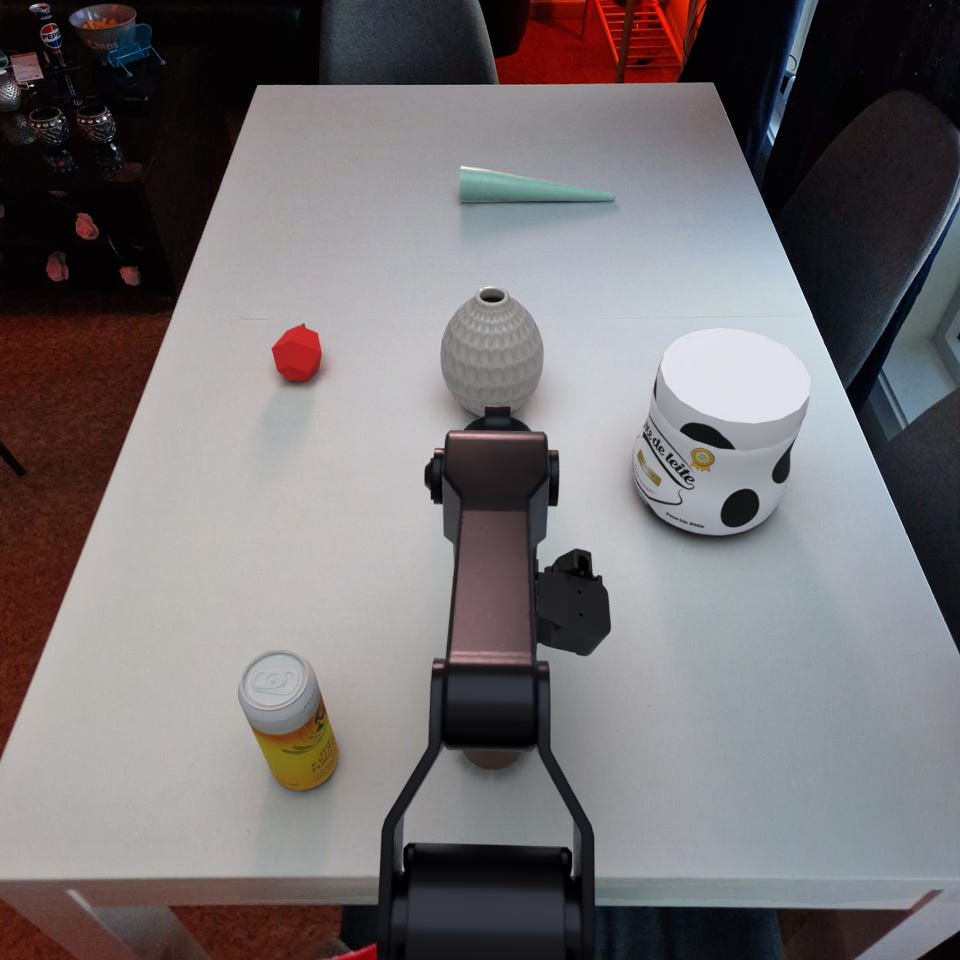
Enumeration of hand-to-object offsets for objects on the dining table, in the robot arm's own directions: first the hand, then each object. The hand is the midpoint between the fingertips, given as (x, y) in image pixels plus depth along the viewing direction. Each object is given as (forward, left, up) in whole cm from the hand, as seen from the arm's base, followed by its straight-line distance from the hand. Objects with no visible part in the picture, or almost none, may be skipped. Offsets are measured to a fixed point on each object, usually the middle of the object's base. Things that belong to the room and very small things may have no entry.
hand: (493, 682), depth 69 cm
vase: (+46, +1, -10) cm, 47 cm away
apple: (+52, +27, -10) cm, 60 cm away
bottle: (0, 0, -10) cm, 10 cm away
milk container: (+31, -24, -10) cm, 41 cm away
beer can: (-3, +17, -10) cm, 20 cm away
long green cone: (+99, -6, -10) cm, 100 cm away
